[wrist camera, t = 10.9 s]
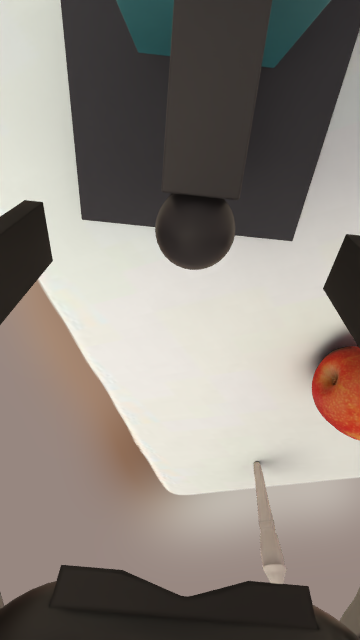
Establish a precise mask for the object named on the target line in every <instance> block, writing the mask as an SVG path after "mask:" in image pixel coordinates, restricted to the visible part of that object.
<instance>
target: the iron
mask: <svg viewBox="0 0 360 640" xmlns="http://www.w3.org/2000/svg"><path fill="white" fill-rule="evenodd" d="M116 1H117V4H118V6H119V8H120V11H121V13H122V15H123V18H124V20H125V22H126V25H127V27H128V30H129V32H130V34H131V37H132V39H133V41H134V44H135V46H136V48H137V51H138V52H139V53H147V54H156V55H164V56H170V67H169V82H168V98H167V113H166V128H165V144H164V159H163V174H162V192H164V193H171V194H170V195H169V197H168V198H167V199H166V201H165V202H164V203H163V205H162V206H161V208H160V210H159V212H158V215H157V219H156V225H155V232H156V238H157V243H158V245H159V247H160V249H161V251H162V252H163V254H164V255H165V257H167V258H168V259H169V260H170V261H171V262H172V263H174V264H175V265H177V266H179V267H182V268H185V269H190V270H199V269H204V268H207V267H210V266H212V265H214V264H216V263H217V262H219V261H220V260H221V259H222V258H223V257H224V256H225V255H226V254H227V252H228V251H229V249H230V247H231V245H232V243H233V239H234V236H235V221H234V216H233V213H232V210H231V208H230V206H229V205H228V203H227V202H226V201H225V199H230V200H239V198H240V192H241V186H242V180H243V174H244V168H245V162H246V156H247V150H248V144H249V138H250V132H251V126H252V120H253V114H254V108H255V102H256V96H257V90H258V84H259V78H260V72H261V67H270V68H274V67H275V66H276V65H277V64H278V63H279V61H280V60H281V59H282V58H283V57H284V56H285V54H286V53H287V52H288V51H289V50H290V48H291V47H292V46H293V45H294V44H295V42H296V41H297V40H298V39H299V38H300V37H301V35H302V34H303V33H304V32H305V31H306V29H307V28H308V27H309V26H310V25H311V24H312V22H313V21H314V20H315V19H316V18H317V16H318V15H319V14H320V13H321V12H322V10H323V9H324V8H325V7H326V6H327V5H328V3H329V2H330V1H331V0H116Z"/></svg>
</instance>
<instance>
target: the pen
mask: <svg viewBox="0 0 360 640" xmlns="http://www.w3.org/2000/svg"><path fill="white" fill-rule="evenodd" d="M254 475H255V483H256V493H257V505H258V518H259V526H260V530H261V533H260V548H261V559H262V564H263V570H264V572H265V573H266V575H267V577H268V579H269V581H270V582H271V583H277V584H283V582H284V578H285V573H286V570H287V568H286V566H285V564H284V558H283V554H282V550H281V547H280V544H279V540H278V537H277V534H276V533H275V526H274V520H273V517H272V513H271V509H270V505H269V501H268V496H267V492H266V487H265V482H264V478H263V473H262V469H261V465H260V464H259V462H256V463H254Z"/></svg>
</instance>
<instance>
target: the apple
mask: <svg viewBox="0 0 360 640" xmlns="http://www.w3.org/2000/svg"><path fill="white" fill-rule="evenodd" d="M312 395H313V399H314V402H315V405H316V407H317V408H318V410H319V412H320V413H321V414H322V416H323V417H324V418H325V419H326V420H327V421H328V422H329V423H330V424H331V425H333V426H334V427H335V428H336V429H337V430H339V431H340V432H342V433H344V434H345V435H347V436H349V437H351V438H354V439H356V440H360V348H359V347H355V346H351V347H343V348H340V349H337V350H333V351H332V352H331V353H329V354H328V355H327V356H326V357H325V358H324V359H323V360H322V362H321V363H320V364H319V366H318V367H317V369H316V371H315V374H314V377H313V381H312Z"/></svg>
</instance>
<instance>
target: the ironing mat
mask: <svg viewBox="0 0 360 640" xmlns="http://www.w3.org/2000/svg"><path fill="white" fill-rule="evenodd" d="M61 8H62V19H63V29H64V39H65V50H66V60H67V70H68V81H69V91H70V101H71V112H72V122H73V132H74V143H75V153H76V163H77V174H78V184H79V194H80V205H81V215H82V220H92V221H101V222H111V223H121V224H131V225H140V226H150V227H155V225H156V219H157V215H158V212H159V210H160V208H161V206H162V205H163V203H164V202H165V201H166V199H167V198H168V197H169V195H170V194H171V193H164V192H162V174H163V159H164V144H165V128H166V113H167V98H168V82H169V67H170V56H164V55H156V54H147V53H139V52H138V51H137V48H136V46H135V44H134V41H133V39H132V37H131V34H130V32H129V30H128V27H127V25H126V22H125V20H124V18H123V15H122V13H121V11H120V8H119V6H118V4H117V1H116V0H61ZM359 29H360V0H331V1H330V2H329V3H328V5H327V6H326V7H325V8H324V9H323V10H322V12H321V13H320V14H319V15H318V16H317V18H316V19H315V20H314V21H313V22H312V24H311V25H310V26H309V27H308V28H307V29H306V31H305V32H304V33H303V34H302V35H301V37H300V38H299V39H298V40H297V41H296V42H295V44H294V45H293V46H292V47H291V48H290V50H289V51H288V52H287V53H286V54H285V56H284V57H283V58H282V59H281V60H280V61H279V63H278V64H277V65H276V66H275V67H274V68H270V67H261V72H260V78H259V84H258V90H257V96H256V102H255V108H254V114H253V120H252V126H251V132H250V138H249V144H248V150H247V156H246V162H245V168H244V174H243V180H242V186H241V192H240V198H239V200H230V199H225V201H226V202H227V203H228V205H229V206H230V208H231V210H232V213H233V216H234V221H235V235H238V236H247V237H257V238H267V239H277V240H286V241H292V240H293V237H294V234H295V230H296V227H297V224H298V221H299V218H300V215H301V212H302V208H303V205H304V202H305V199H306V196H307V193H308V189H309V186H310V183H311V180H312V177H313V174H314V171H315V167H316V164H317V161H318V158H319V155H320V152H321V149H322V145H323V142H324V139H325V136H326V133H327V130H328V127H329V123H330V120H331V117H332V114H333V111H334V108H335V105H336V101H337V98H338V95H339V92H340V89H341V86H342V82H343V79H344V76H345V73H346V70H347V67H348V64H349V60H350V57H351V54H352V51H353V48H354V45H355V42H356V38H357V35H358V32H359Z"/></svg>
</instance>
